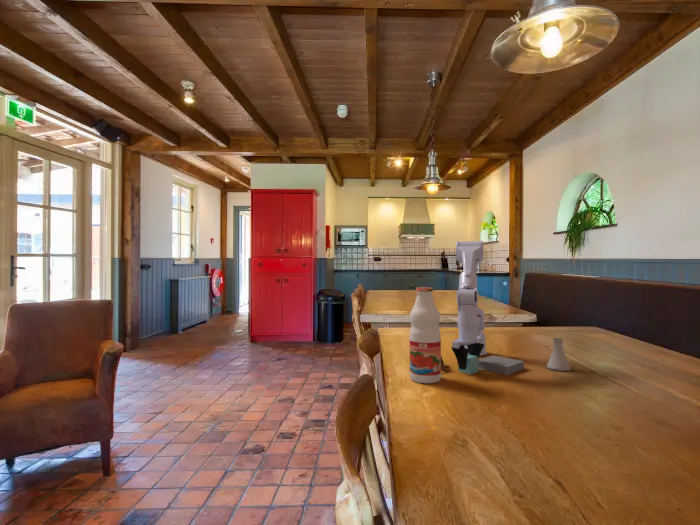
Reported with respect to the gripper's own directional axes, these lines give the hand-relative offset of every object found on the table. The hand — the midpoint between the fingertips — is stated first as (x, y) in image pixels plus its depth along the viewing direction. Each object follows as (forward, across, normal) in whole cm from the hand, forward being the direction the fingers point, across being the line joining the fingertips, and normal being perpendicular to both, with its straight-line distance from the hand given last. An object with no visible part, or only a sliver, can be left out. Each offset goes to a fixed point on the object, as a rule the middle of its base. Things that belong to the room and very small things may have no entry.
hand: (468, 367), depth 121 cm
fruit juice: (+2, -17, +4) cm, 18 cm away
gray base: (+2, +11, -5) cm, 12 cm away
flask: (+2, +25, -18) cm, 31 cm away
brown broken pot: (+2, -5, +11) cm, 12 cm away
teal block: (+2, 0, 0) cm, 2 cm away
